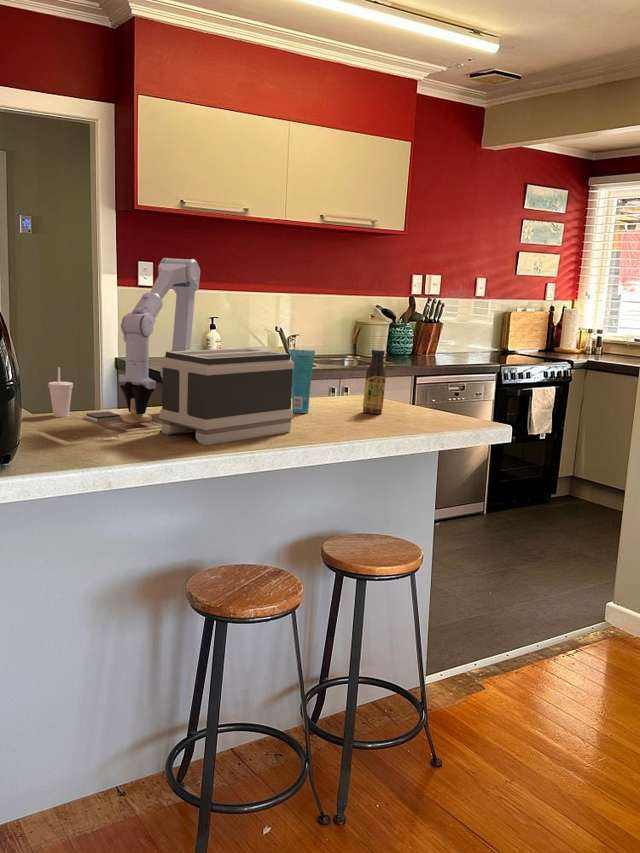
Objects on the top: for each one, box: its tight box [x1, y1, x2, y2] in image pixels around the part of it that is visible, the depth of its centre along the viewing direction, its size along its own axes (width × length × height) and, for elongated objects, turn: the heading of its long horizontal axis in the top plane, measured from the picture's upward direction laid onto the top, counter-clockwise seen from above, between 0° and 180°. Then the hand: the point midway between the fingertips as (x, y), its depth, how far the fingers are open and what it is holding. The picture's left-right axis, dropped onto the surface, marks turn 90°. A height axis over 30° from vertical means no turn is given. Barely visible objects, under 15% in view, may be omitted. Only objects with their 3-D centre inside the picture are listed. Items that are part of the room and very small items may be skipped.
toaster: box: [158, 347, 294, 447], centre depth 204 cm, size 18×34×21 cm, turn 138°
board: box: [77, 412, 162, 437], centre depth 208 cm, size 18×22×1 cm
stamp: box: [122, 398, 153, 424], centre depth 203 cm, size 6×4×6 cm
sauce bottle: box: [362, 348, 387, 415], centre depth 243 cm, size 7×6×20 cm
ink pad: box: [83, 410, 122, 423], centre depth 210 cm, size 8×7×1 cm
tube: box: [289, 349, 316, 414], centre depth 237 cm, size 7×5×19 cm, turn 99°
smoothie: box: [47, 366, 74, 418], centre depth 211 cm, size 6×6×14 cm
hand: (136, 412), depth 203 cm, fingers closed on stamp, 3 cm apart
